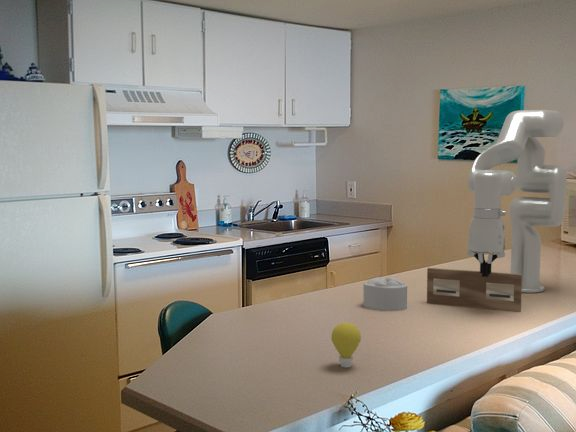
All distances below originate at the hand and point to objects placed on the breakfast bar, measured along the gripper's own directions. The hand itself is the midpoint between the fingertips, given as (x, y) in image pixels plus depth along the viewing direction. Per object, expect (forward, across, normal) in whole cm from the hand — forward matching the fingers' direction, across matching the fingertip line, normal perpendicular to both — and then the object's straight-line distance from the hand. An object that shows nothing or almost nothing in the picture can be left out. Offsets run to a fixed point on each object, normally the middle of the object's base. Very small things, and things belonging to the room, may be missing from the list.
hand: (485, 276), depth 204 cm
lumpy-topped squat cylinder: (+11, +29, +4) cm, 31 cm away
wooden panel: (+11, +5, -6) cm, 13 cm away
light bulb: (+11, +20, +62) cm, 67 cm away
